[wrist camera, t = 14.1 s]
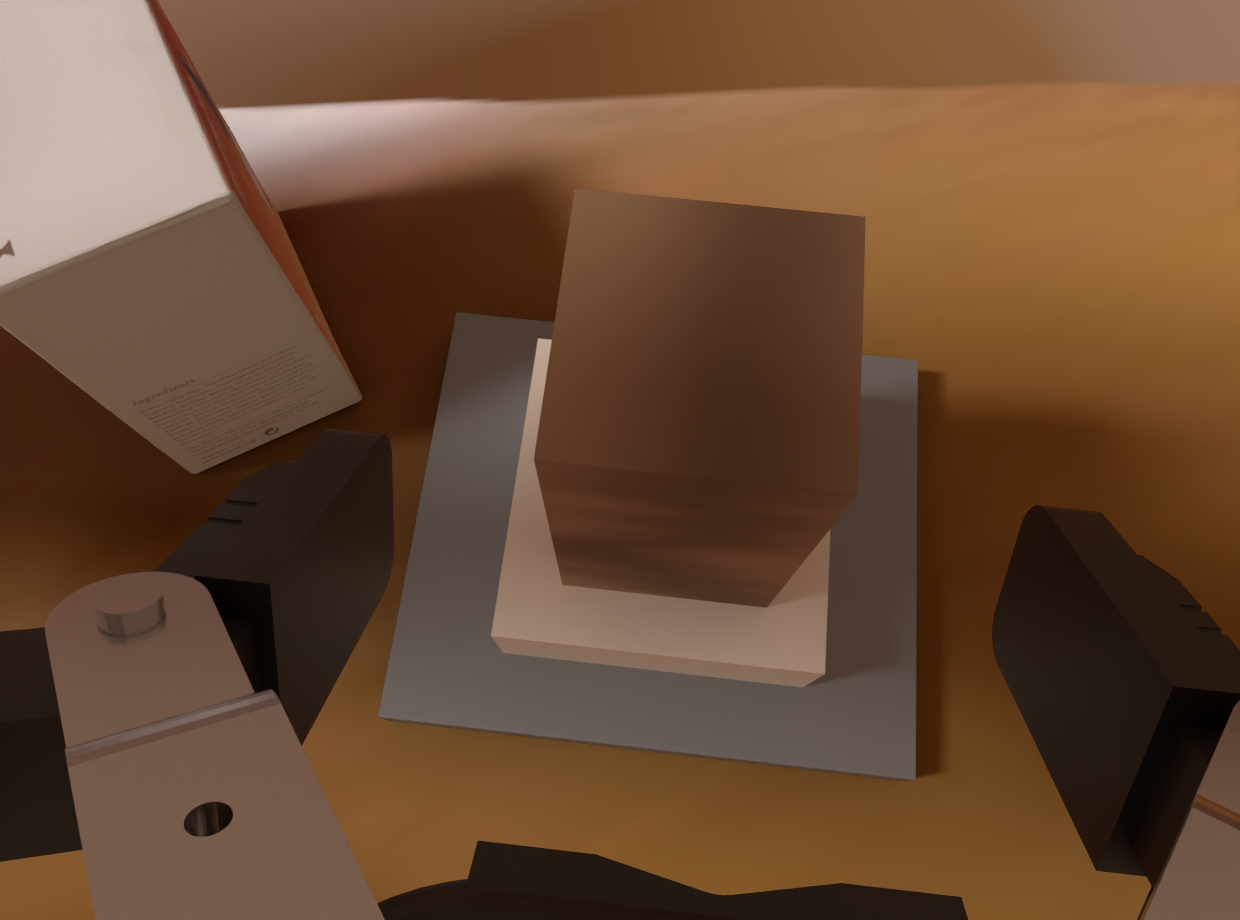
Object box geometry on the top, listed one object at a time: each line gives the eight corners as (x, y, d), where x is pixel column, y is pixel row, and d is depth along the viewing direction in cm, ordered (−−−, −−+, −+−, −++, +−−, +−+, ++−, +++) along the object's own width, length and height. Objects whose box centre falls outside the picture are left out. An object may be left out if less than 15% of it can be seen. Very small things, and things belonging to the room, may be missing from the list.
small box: (368, 404, 29) (241, 199, 19) (191, 482, 28) (-37, 308, 18) (278, 206, 31) (125, -68, 21) (114, 271, 30) (-125, 17, 21)
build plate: (388, 720, 26) (349, 706, 22) (462, 330, 30) (440, 262, 26) (902, 780, 25) (953, 777, 22) (906, 377, 29) (949, 315, 26)
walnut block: (562, 584, 23) (533, 459, 15) (587, 398, 25) (574, 188, 16) (767, 607, 23) (858, 494, 14) (778, 418, 25) (864, 216, 16)
